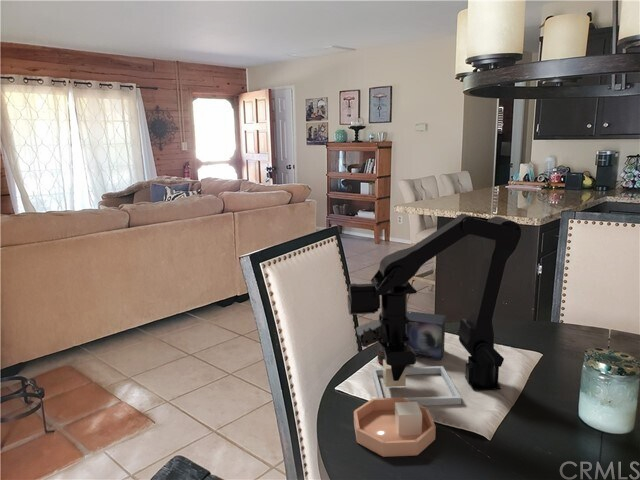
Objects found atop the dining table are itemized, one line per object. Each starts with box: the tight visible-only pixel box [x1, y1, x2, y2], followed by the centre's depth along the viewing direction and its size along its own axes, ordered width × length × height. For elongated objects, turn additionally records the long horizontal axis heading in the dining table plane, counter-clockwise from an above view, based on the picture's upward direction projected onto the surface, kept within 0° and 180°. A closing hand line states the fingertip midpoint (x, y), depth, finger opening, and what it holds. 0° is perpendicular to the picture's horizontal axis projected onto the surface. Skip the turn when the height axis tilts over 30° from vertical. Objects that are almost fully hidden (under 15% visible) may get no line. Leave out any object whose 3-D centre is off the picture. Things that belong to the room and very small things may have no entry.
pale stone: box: [395, 402, 422, 436], centre depth 94 cm, size 4×4×4 cm
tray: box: [371, 365, 462, 406], centre depth 110 cm, size 18×15×2 cm
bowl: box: [353, 397, 437, 458], centre depth 94 cm, size 15×15×3 cm
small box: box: [404, 310, 446, 361], centre depth 127 cm, size 11×6×10 cm, turn 68°
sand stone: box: [382, 360, 407, 388], centre depth 110 cm, size 4×4×4 cm
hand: (394, 375), depth 110 cm, fingers closed on sand stone, 4 cm apart
